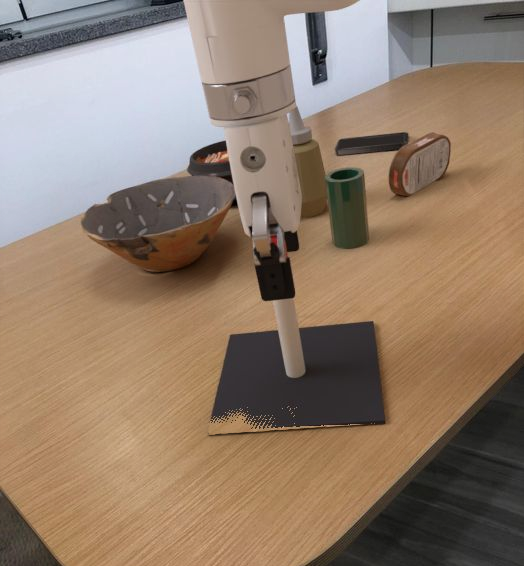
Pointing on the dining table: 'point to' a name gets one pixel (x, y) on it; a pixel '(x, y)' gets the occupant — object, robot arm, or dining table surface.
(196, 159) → the casserole
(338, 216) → the pen holder
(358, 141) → the phone
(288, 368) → the rod
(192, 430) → the dining table surface
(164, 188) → the bowl
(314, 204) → the squeeze bottle
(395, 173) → the tin
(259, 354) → the mat
